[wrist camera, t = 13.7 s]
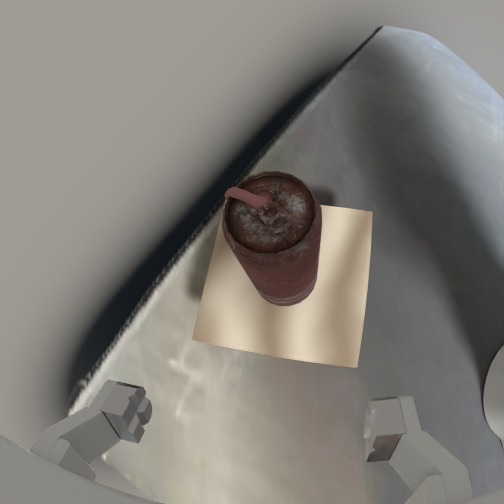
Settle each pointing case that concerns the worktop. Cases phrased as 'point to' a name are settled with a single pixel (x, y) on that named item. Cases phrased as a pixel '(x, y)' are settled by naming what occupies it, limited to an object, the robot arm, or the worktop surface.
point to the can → (275, 234)
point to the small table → (299, 315)
